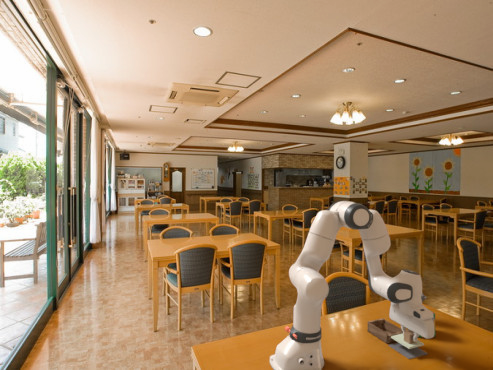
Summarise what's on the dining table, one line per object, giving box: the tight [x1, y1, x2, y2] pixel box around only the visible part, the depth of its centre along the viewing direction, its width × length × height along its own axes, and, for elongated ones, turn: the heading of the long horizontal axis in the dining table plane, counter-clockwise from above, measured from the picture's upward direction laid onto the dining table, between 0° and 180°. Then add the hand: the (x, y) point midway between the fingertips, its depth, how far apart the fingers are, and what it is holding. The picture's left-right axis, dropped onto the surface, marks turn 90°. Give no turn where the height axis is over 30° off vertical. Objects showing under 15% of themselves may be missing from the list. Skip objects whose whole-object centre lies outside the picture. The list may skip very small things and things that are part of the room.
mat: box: [387, 342, 429, 360], centre depth 131 cm, size 11×11×1 cm
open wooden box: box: [367, 318, 403, 345], centre depth 143 cm, size 10×12×5 cm
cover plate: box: [391, 330, 425, 349], centre depth 131 cm, size 9×10×5 cm
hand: (410, 338), depth 130 cm, fingers closed on cover plate, 3 cm apart
